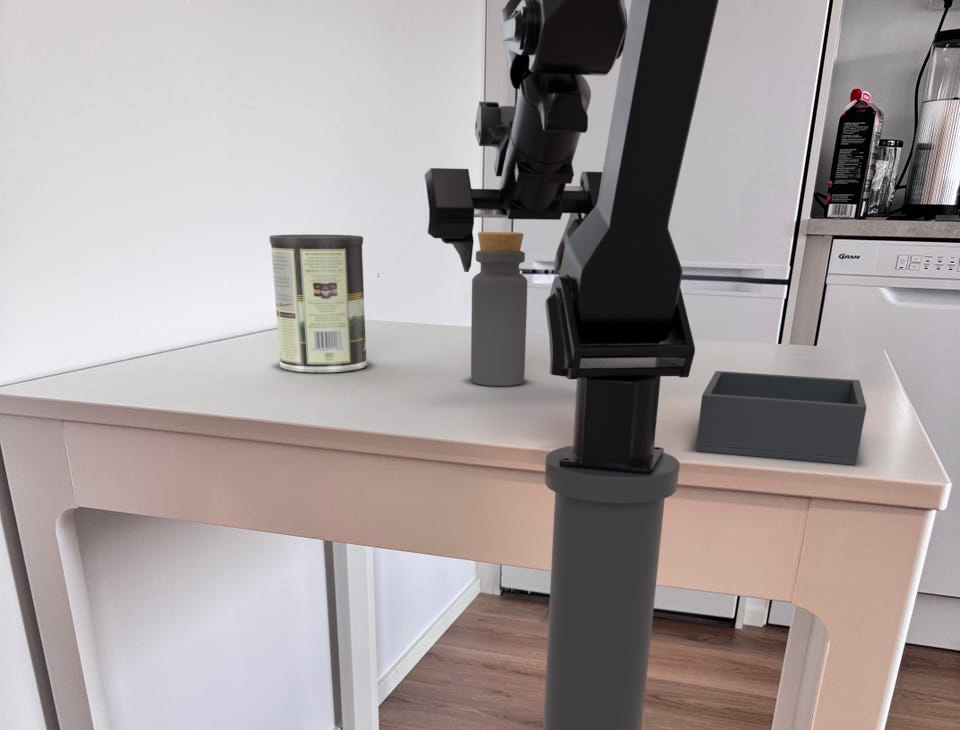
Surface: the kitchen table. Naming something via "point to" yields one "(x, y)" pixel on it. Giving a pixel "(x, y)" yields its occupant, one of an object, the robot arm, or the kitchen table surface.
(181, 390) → the kitchen table surface
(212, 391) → the kitchen table surface
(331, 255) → the coffee can
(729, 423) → the open rectangular box
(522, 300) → the bottle
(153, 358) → the kitchen table surface
